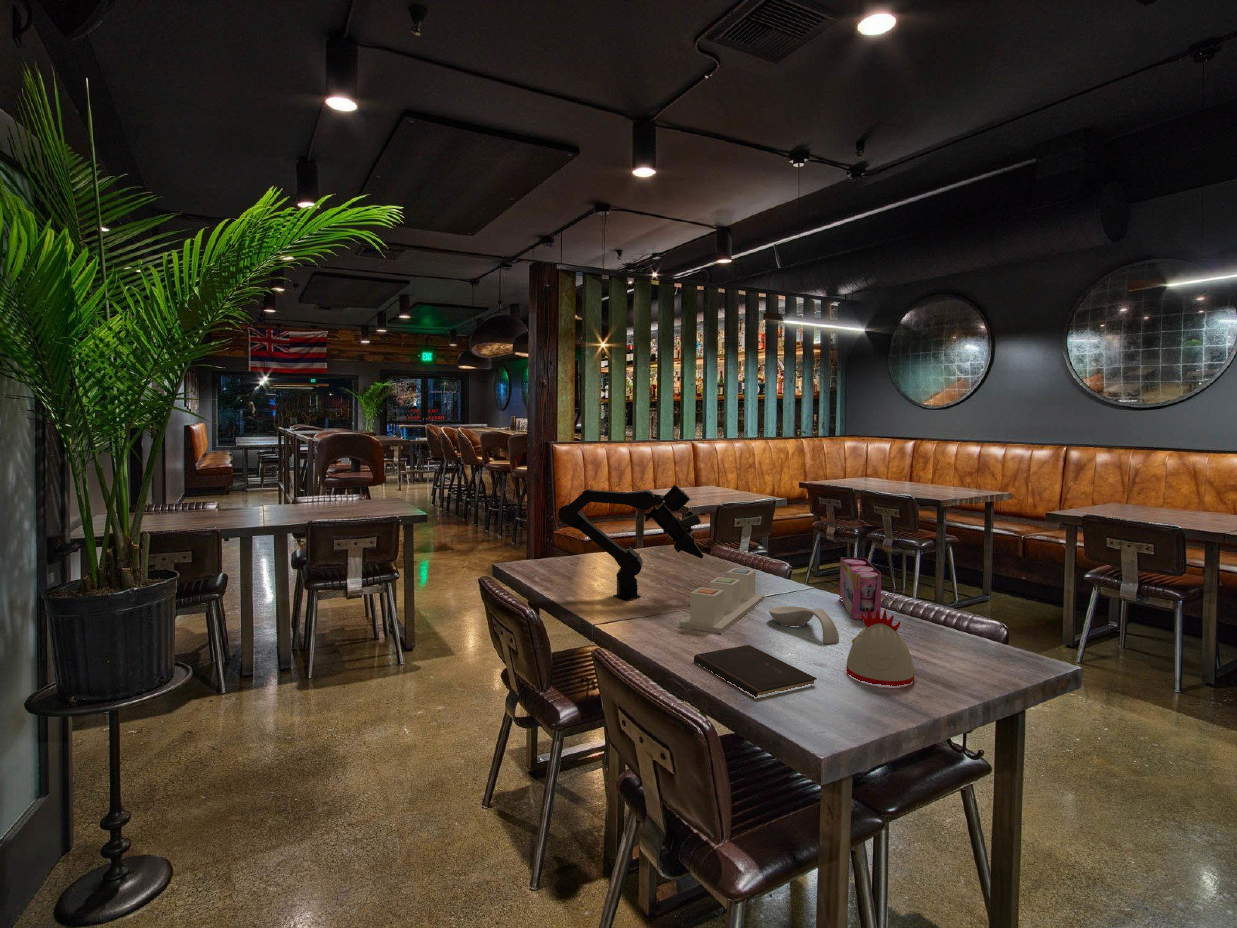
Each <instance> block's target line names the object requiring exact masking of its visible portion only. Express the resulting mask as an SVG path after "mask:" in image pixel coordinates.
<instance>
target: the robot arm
mask: <svg viewBox="0 0 1237 928" xmlns="http://www.w3.org/2000/svg"><path fill="white" fill-rule="evenodd" d="M690 500H691V498H690V496H689V495H688V494H687V493H686V492H685V491H684V490H682V489H681V488H680V487H679V486H678V485H676V484H674V485H673V486H672V487H671V488H670V489H669V490H668V491H667V493H665V494H664V495H662V494H656V493H654V492H653V491H651V490H648V489H643V490H642V489H641V490H634V491H633V490H632V491H626V492H625V491H615V490H613V491H612V490H598V489H597V490H595V489H593V488H592V489H591V488H588V489H585V490H583V491H582V492H581V494H580V495H579V496H577V497H576V498H575V499H574V500H572V502H569V503H566V504H564V505H562V506H561V507H560V508H559V509H558V513H557V515H558V516H557V517H558V519H559V521H560V522H562V523H563V524H565V525H567V526H568V527H570V528H573V529H576V530H578V531H580V532H581V533H582V534H584V535H585V536H586V537H587V538H588V539H589V540H591V541H592V542H593V543H595V544H596V545H597V546H598V547H599V548H600V549H602V550H603V551H604V552H606V553H607V554H608V555H610V557H612V558H613V559H614V560H615V562H616V563H617V565H618V566H619V567H620V568H619V569H618V571H617V573H616V594H613V595H612V597H613V598H615V599H620V600H623V601H629V600H635V599H639V598H641V595H639V594H638V579H637V578H636V576H637V575H639V574H640V572H641V571H642V568H643V565H644V564H643V563H644V562H643V558H642V557H641V556H640V554H641V553H639V552H637V551H635V550H634V548H632V547H631V546H629V547H628V549H627V548H624V547H622V546H621V545H620V544H618V543H617V542H616V541H615V540H613V538H611V537H609V536H608V535H607V534H606V533H605V532H603V530H601V529H600V528H598V526H596V525H595V524H594V523H592V521H590V520H589V519H588V518H587V516H586V515H585V514H584V512H583V511H582V510H583V509H584V508H585V507H586V506H587V505H588V504H589V503H596V504H597V503H600V504H611V505H612V504H613V505H623V506H624V505H625V506H629V507H631V508H634V509H639V510H643V511H646V512H644V515H645V517H644V518H645V519H644V521H645V522H648V521H650V519H652V521H654V522H655V524H656V525H657V526H658V527H660V529H662V532H663V533H664V534H667V536H668V537H669V538H670V539H671V540H672V543H674V544H673V549H674V550H675V551H676V552H677V553H680V552H685V553H687V554H690V555H692V556H695V557H696V558H699V559H703V557H704V554H703V552H702V551H701V550H700V548H699V546H698V545H697V543H696V542H695V533H692V534H691V532H694V528H693V527H694V526H699V525H700V524H702V521H701V518H700V516H699V514H698V512H696V511H695V512H693V511H692V510H690V511H687V512H686V516H685V517H682V518H681V519H680V517H679V516H675V515H674V514H673V512H679V511H680V510H682V508H684V507H685V505H687V503H689V502H690ZM657 505H658V506H659V507H657ZM653 506H654V507H653ZM650 509H651V510H650ZM648 510H650V511H649V512H648ZM670 510H671V511H672V512H671V511H670Z"/></svg>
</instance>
